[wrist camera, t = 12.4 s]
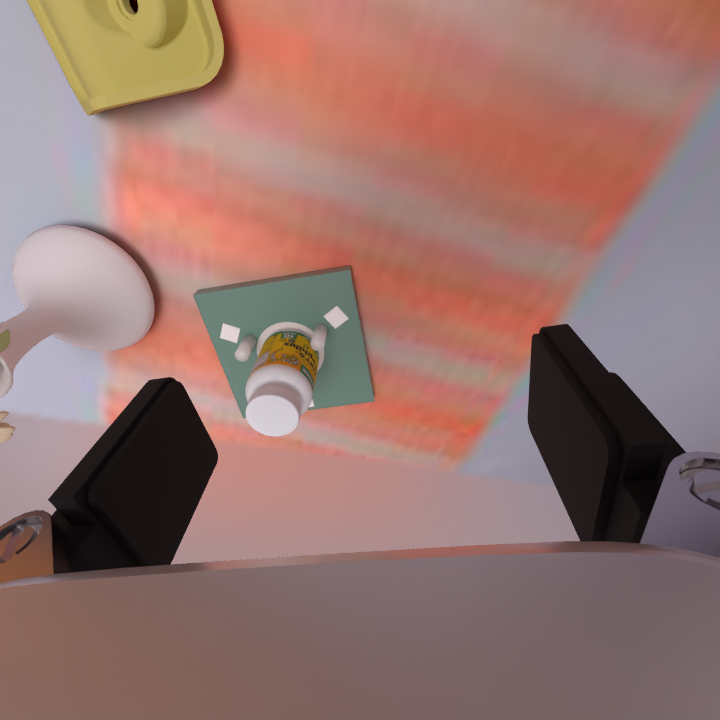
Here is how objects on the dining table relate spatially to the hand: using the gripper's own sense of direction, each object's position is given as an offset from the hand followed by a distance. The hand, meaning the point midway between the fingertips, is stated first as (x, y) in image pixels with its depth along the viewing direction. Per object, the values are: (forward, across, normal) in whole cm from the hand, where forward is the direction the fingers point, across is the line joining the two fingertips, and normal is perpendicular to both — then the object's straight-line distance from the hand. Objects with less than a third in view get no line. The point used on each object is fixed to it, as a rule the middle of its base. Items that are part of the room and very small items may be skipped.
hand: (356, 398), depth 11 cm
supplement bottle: (+24, +10, +12) cm, 28 cm away
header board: (+25, +10, +12) cm, 29 cm away
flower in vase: (+24, +25, +2) cm, 35 cm away
